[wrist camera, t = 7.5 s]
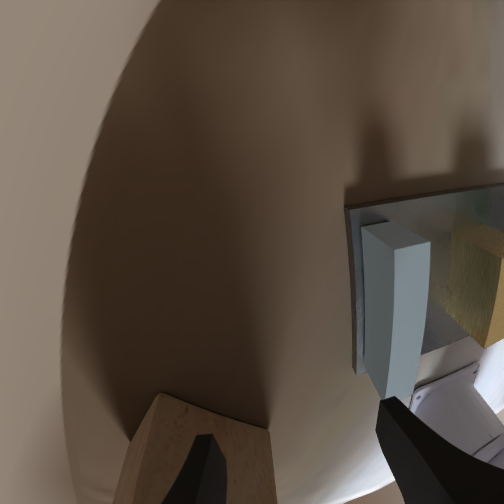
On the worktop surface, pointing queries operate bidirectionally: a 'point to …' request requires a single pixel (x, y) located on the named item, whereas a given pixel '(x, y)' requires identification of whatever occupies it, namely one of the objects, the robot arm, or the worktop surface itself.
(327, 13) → the worktop surface
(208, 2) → the worktop surface
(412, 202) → the vise
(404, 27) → the worktop surface
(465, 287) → the brass block
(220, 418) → the wooden block
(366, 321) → the block
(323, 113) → the worktop surface
